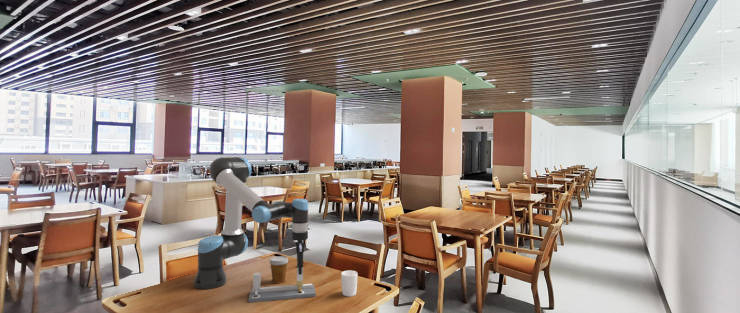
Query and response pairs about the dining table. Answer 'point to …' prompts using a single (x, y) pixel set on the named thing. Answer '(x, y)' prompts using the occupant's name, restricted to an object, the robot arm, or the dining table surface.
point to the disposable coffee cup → (278, 268)
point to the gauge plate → (278, 291)
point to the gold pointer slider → (299, 283)
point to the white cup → (349, 282)
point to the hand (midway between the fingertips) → (299, 278)
